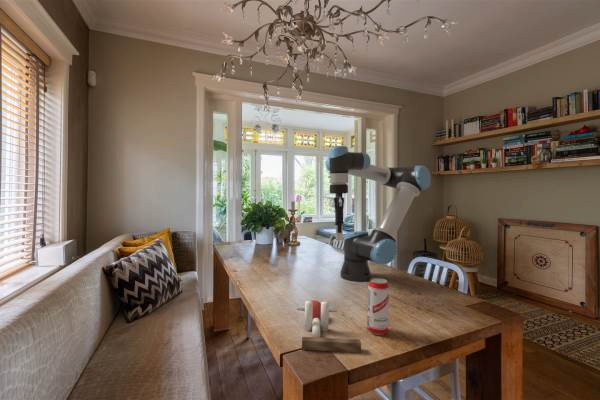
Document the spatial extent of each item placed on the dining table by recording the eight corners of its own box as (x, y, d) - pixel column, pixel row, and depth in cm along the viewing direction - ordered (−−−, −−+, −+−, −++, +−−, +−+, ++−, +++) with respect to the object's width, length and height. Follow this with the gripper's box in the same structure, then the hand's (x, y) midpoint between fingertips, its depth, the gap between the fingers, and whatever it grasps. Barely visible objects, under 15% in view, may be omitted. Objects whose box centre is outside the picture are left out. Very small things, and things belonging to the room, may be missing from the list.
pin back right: (328, 328, 89) (328, 301, 89) (328, 331, 87) (328, 304, 87) (320, 327, 90) (320, 301, 89) (320, 331, 87) (321, 304, 87)
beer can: (364, 326, 91) (365, 277, 90) (383, 326, 91) (384, 277, 91) (370, 336, 84) (372, 284, 84) (391, 336, 85) (392, 283, 84)
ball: (323, 319, 92) (323, 317, 98) (322, 300, 94) (322, 299, 99) (305, 320, 92) (306, 318, 98) (304, 301, 94) (305, 300, 100)
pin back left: (312, 327, 90) (312, 301, 89) (312, 331, 87) (312, 304, 87) (304, 327, 90) (305, 300, 89) (304, 330, 87) (304, 303, 87)
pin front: (320, 317, 91) (320, 331, 83) (320, 325, 91) (320, 339, 83) (312, 317, 91) (312, 330, 83) (312, 324, 92) (312, 338, 83)
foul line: (335, 309, 103) (335, 309, 103) (335, 311, 102) (335, 310, 102) (297, 308, 104) (297, 307, 104) (296, 309, 102) (296, 309, 102)
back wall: (359, 348, 78) (359, 339, 78) (360, 352, 76) (361, 343, 76) (302, 345, 79) (302, 336, 79) (301, 349, 77) (302, 340, 77)
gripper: (328, 184, 124) (329, 237, 125) (330, 184, 111) (331, 243, 112) (345, 183, 124) (346, 236, 125) (350, 183, 111) (350, 243, 112)
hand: (339, 239), depth 119 cm, fingers closed
